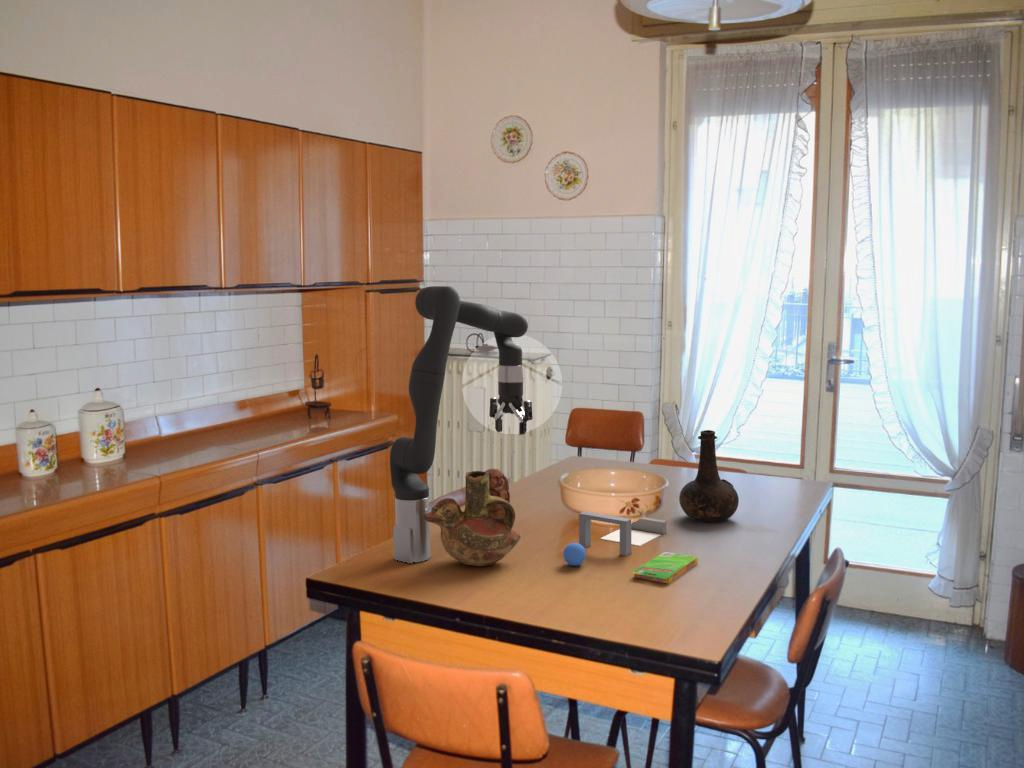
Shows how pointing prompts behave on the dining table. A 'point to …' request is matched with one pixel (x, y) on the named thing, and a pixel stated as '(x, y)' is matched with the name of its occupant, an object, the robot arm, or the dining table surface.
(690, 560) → the game box
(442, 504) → the ceramic vessel
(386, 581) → the dining table surface
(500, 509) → the wooden figurine
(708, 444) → the glass bottle
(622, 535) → the bridge
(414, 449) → the robot arm
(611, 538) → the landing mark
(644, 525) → the wall
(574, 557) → the ball
